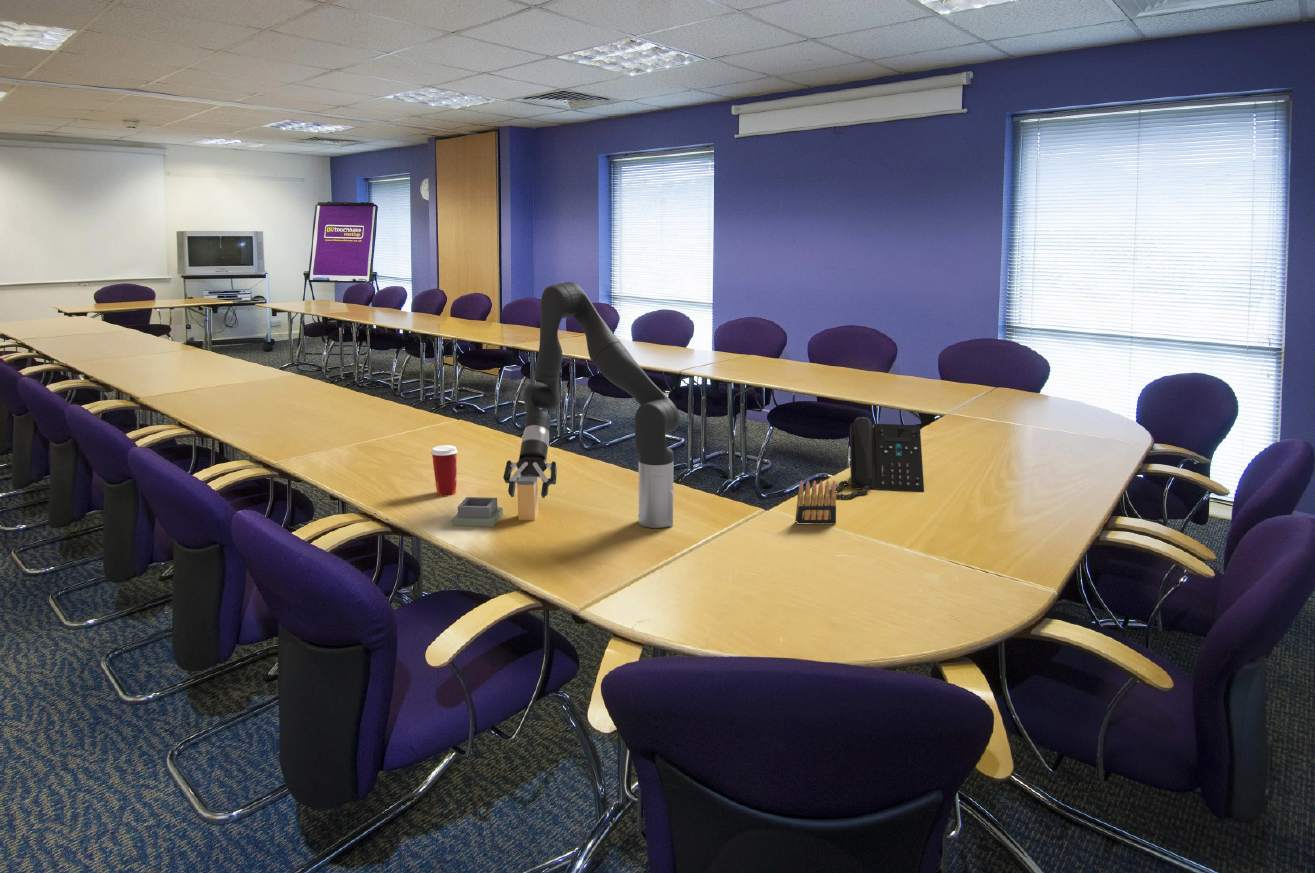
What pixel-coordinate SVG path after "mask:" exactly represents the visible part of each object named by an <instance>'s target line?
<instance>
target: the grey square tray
mask: <svg viewBox="0 0 1315 873" xmlns="http://www.w3.org/2000/svg"><path fill="white" fill-rule="evenodd" d="M503 515H504V508H503V507H500V506H499V507H498V497H477V496H475V497H473V496H466V497H465V498H464V499H463V500H462V502H460V504H459V505H458V506H457V513H456V514H455V515H454V517H452V526H454V527H456V526H457V527H490V528H491V527H495V526H496V525H497V523H499V521H500V519H501V518H502V517H503Z"/></svg>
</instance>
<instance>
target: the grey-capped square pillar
mask: <svg viewBox="0 0 1315 873" xmlns="http://www.w3.org/2000/svg"><path fill="white" fill-rule="evenodd" d="M516 485H517V486H516V491H517V493H516V494H517V516H518V521H536V520H537V518H538V516H539V502H538V501H539V497H538V477H529V476H521V477H520V478H519V479H518V480H517V483H516Z"/></svg>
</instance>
